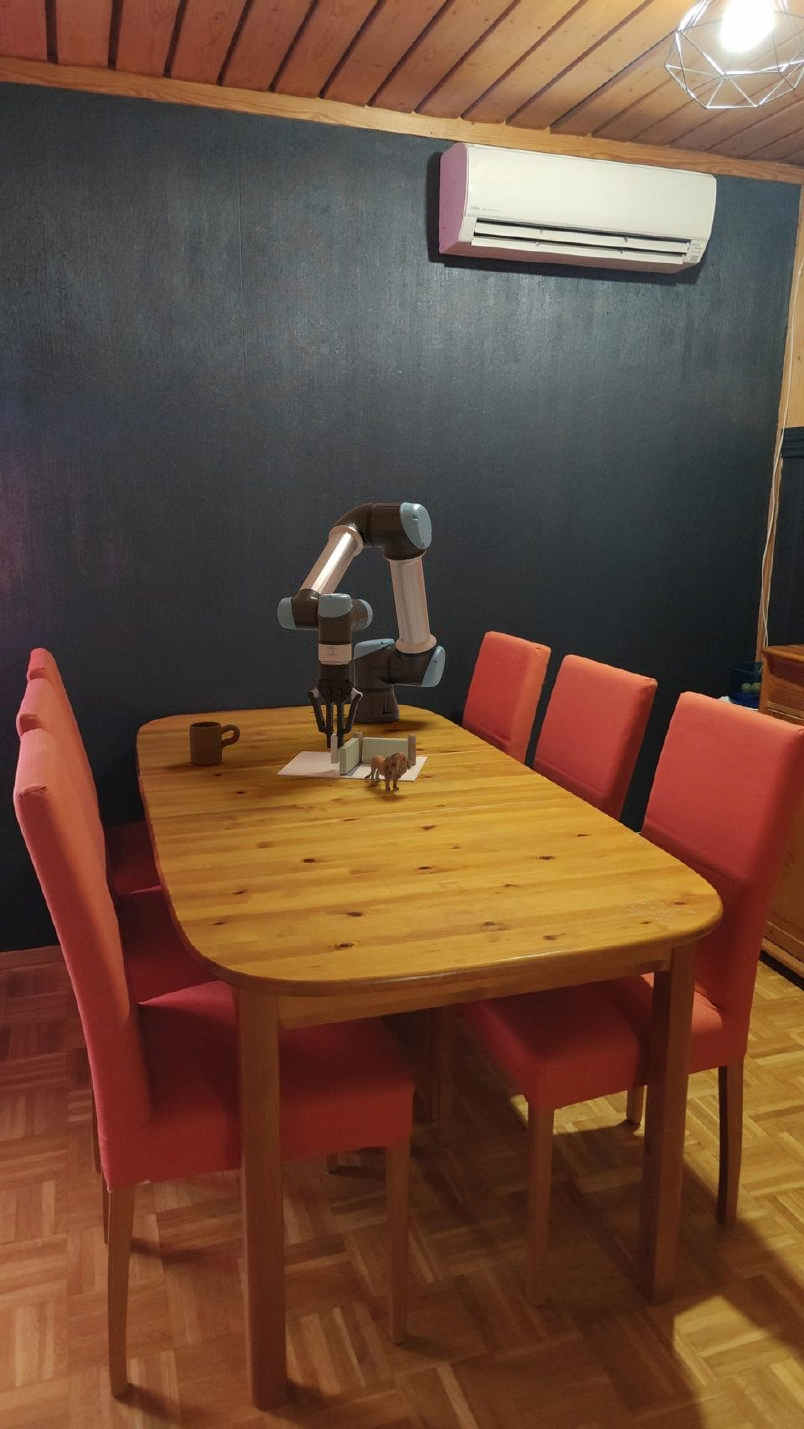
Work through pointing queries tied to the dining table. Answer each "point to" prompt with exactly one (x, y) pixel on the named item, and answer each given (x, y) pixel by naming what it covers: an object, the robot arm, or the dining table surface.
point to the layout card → (322, 767)
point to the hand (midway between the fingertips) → (335, 762)
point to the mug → (209, 742)
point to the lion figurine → (389, 769)
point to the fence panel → (348, 755)
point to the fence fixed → (385, 747)
